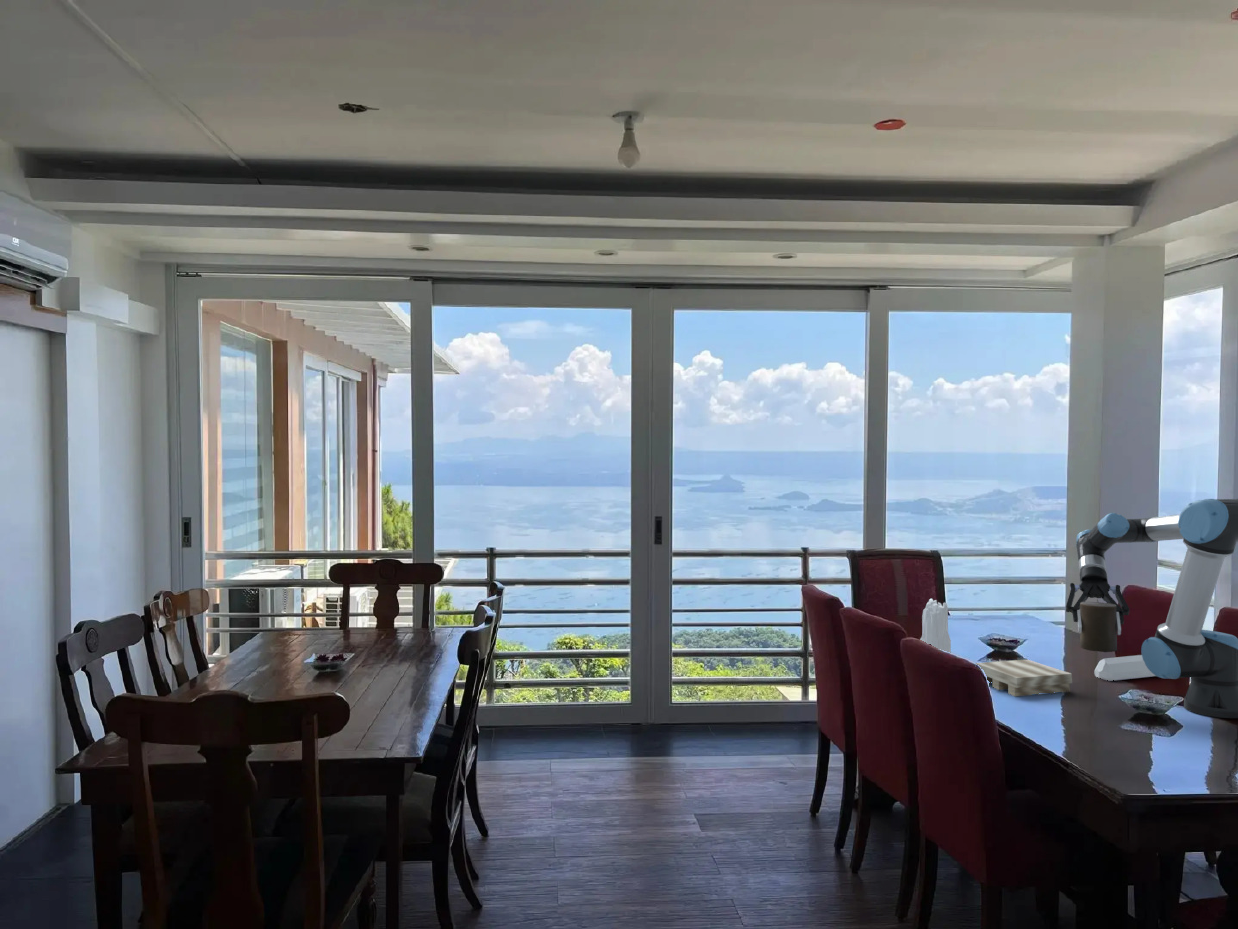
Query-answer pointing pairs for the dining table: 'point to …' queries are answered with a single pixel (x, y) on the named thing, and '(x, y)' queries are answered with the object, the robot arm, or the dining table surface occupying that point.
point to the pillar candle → (1098, 626)
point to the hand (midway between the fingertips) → (1099, 631)
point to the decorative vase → (936, 625)
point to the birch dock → (1026, 677)
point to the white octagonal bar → (1122, 668)
